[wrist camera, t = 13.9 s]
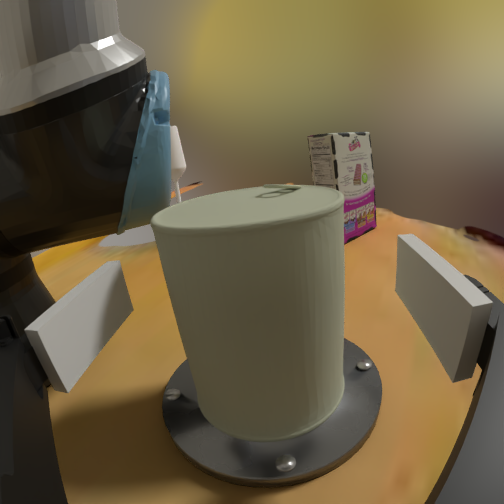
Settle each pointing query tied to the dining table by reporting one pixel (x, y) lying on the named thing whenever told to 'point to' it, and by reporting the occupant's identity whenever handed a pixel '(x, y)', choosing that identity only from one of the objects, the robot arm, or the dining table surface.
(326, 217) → the can
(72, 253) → the dining table surface
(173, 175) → the champagne flute
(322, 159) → the candy bar box
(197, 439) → the flange plate
